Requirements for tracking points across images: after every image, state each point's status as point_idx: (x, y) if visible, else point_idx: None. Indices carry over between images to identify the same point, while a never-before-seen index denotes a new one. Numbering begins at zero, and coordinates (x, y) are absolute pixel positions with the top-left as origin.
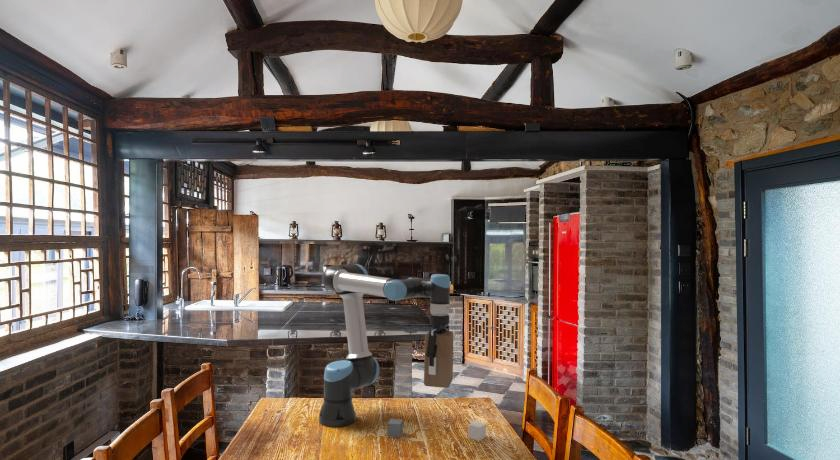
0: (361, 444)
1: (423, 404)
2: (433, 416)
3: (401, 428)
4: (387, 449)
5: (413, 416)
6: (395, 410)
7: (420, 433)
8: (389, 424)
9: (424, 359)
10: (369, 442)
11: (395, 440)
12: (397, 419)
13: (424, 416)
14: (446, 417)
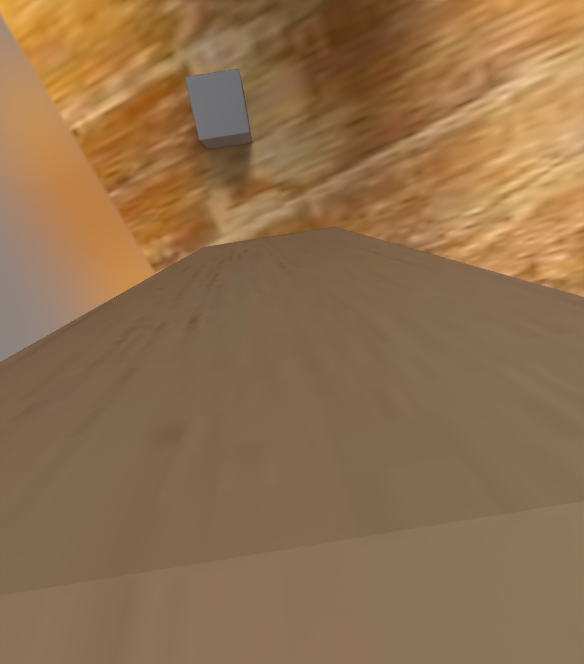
0: (81, 22)
1: (536, 116)
2: (420, 199)
3: (229, 141)
4: (104, 147)
5: (403, 124)
6: (451, 10)
7: (268, 207)
8: (188, 90)
9: (139, 283)
10: (113, 49)
11: (179, 144)
12: (241, 106)
13: (413, 167)
14: (421, 245)
